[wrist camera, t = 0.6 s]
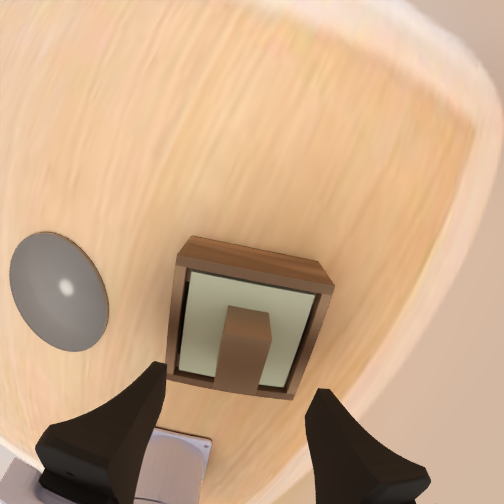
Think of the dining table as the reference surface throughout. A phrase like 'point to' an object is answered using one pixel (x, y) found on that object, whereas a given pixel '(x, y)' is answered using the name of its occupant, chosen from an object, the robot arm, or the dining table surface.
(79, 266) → the coaster
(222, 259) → the brown wooden open box
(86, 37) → the dining table surface
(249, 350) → the lid
